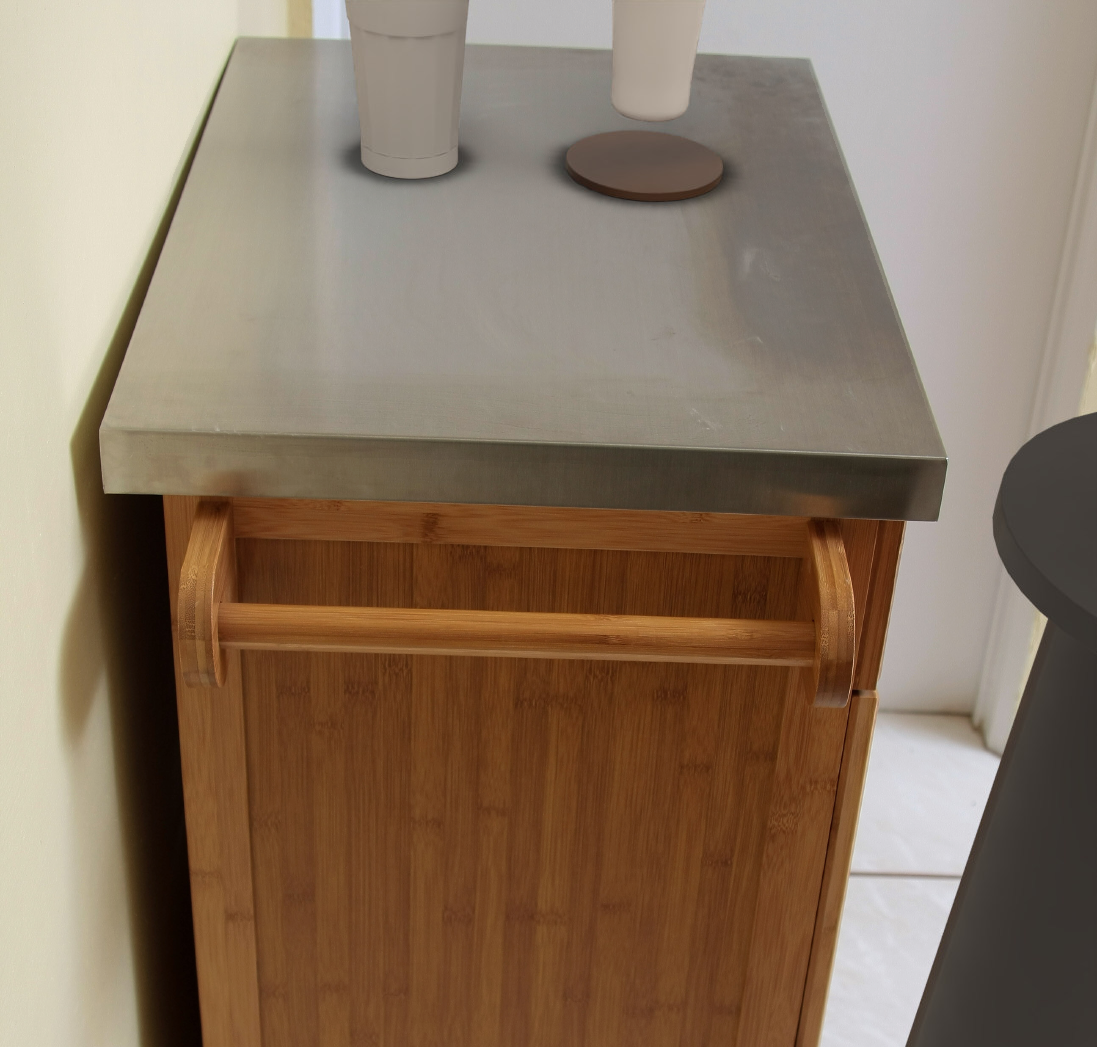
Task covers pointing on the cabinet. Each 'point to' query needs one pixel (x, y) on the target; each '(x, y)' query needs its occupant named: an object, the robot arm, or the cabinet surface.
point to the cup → (408, 83)
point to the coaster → (644, 165)
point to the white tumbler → (654, 56)
